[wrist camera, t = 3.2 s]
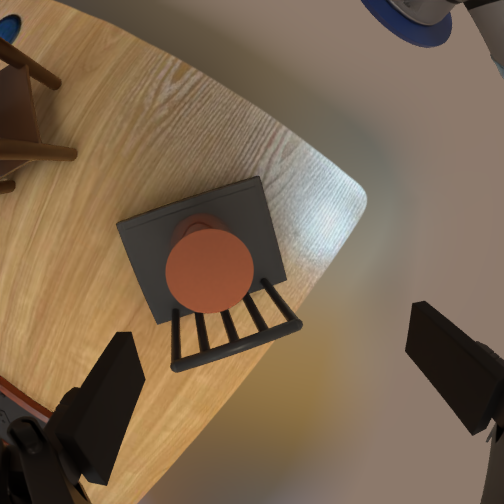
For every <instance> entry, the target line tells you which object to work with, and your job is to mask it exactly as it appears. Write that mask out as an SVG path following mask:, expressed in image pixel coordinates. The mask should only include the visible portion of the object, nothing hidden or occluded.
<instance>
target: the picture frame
mask: <svg viewBox="0 0 504 504" xmlns="http://www.w3.org/2000/svg"><path fill="white" fill-rule="evenodd" d="M52 414H53V413H52V412H50V411H49V410H47V409H46V408H44V407H43V406H41V405H40V404H38V403H37V402H35V401H34V400H32V399H31V398H29V397H28V396H27V395H25V394H24V393H22V392H21V391H20V390H18V389H17V388H16V387H14V386H13V385H12V384H10V383H9V382H8V381H6V380H5V379H4V378H3V377H1V376H0V438H1V439H2V441H3V442H4V443H5V445H14V444H13V443H12V441H11V440H10V438H9V437H8V435H7V428H8V426H9V425H10V423H11V422H13V421H14V420H15V419H17V418H19V417H23V416H31V417H33V418H35V419H36V420H37V421H38V423H39V425H40V426H41V428H42V429H43V428H44V426H45V425H46V423H47V422H48V420H49V418H50V417H51V415H52Z"/></svg>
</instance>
